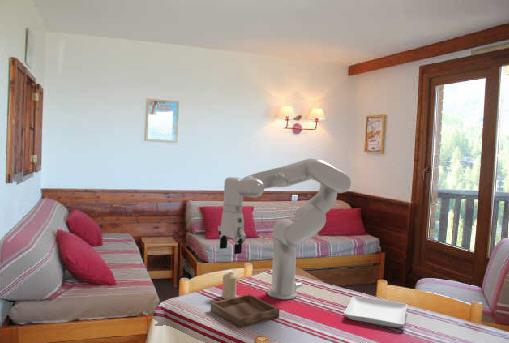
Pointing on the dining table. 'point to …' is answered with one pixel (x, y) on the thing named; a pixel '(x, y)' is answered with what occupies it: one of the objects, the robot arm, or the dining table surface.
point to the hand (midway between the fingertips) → (230, 250)
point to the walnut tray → (244, 310)
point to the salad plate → (376, 311)
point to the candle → (229, 285)
